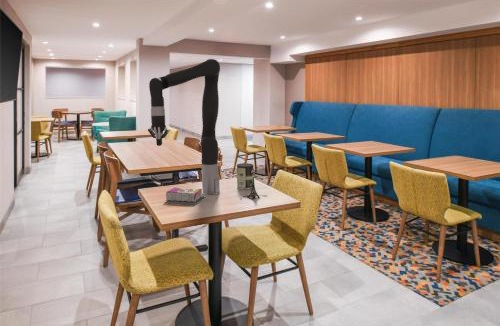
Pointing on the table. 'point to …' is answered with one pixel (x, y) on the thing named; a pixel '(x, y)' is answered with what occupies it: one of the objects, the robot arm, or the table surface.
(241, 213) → the table surface
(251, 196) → the eiffel tower figurine
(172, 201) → the place mat
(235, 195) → the table surface
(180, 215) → the table surface
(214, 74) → the robot arm
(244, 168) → the coffee can
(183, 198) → the candy bar box
